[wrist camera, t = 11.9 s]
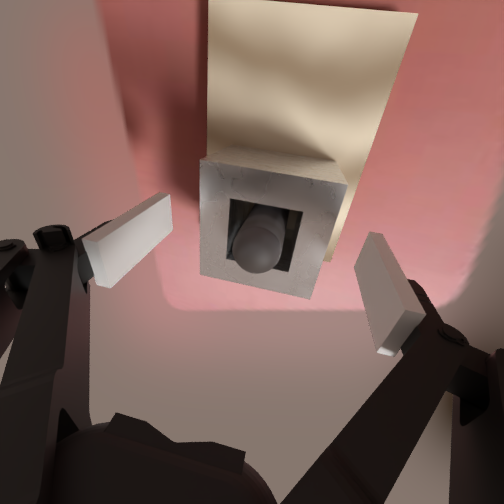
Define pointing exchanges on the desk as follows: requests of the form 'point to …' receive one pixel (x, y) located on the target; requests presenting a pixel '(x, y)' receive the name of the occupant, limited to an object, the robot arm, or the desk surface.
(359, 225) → the desk surface
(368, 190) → the desk surface
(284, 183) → the gray cube
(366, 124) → the board
